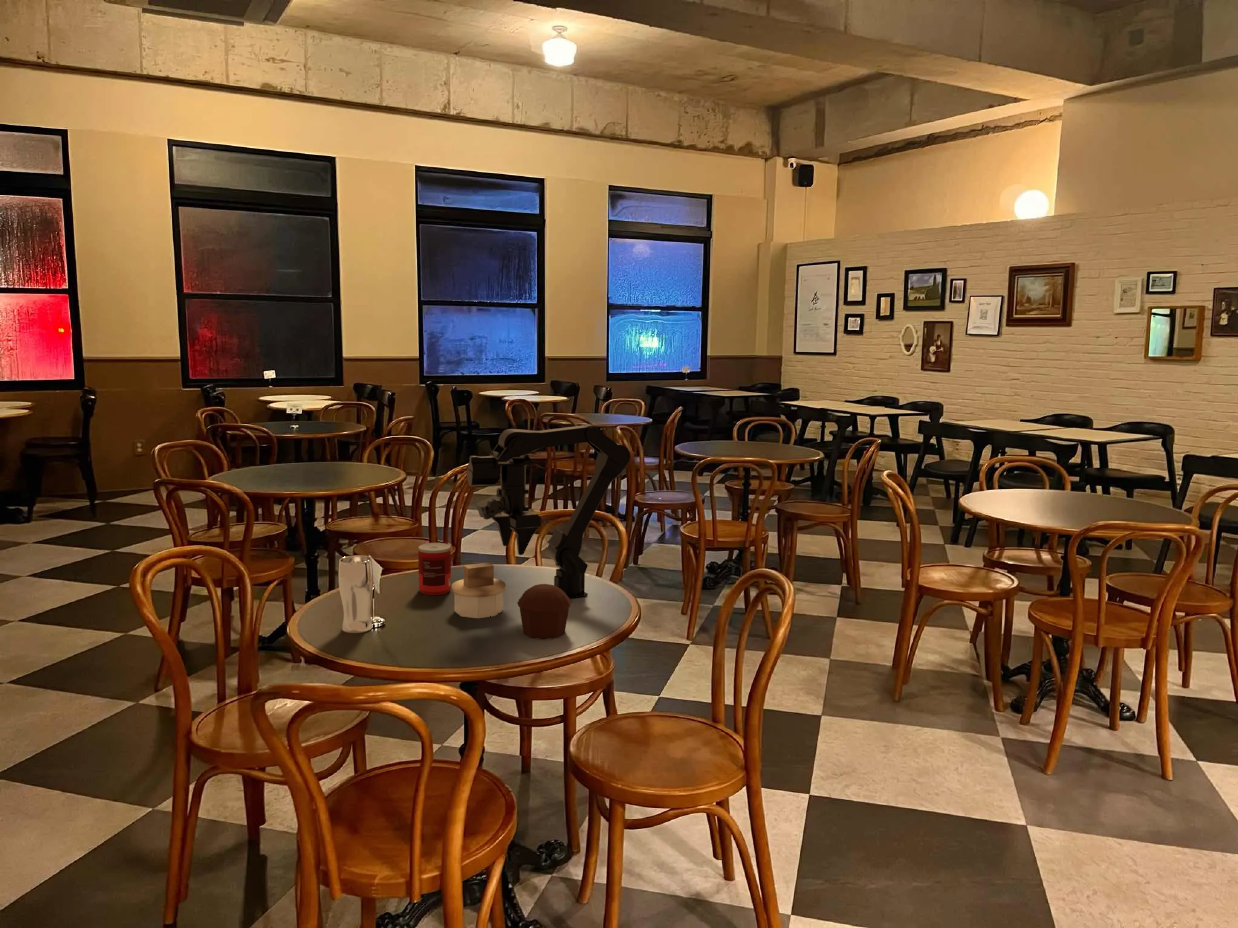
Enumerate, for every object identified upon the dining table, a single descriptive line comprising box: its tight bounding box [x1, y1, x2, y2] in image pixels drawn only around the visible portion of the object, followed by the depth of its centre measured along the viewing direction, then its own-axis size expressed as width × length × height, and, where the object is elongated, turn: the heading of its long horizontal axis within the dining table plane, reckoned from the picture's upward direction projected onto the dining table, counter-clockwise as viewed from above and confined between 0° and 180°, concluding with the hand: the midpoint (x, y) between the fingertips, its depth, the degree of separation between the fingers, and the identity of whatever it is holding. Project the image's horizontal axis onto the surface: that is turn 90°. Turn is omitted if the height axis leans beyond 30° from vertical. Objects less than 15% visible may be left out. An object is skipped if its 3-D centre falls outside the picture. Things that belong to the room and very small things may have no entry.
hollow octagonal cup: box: [453, 592, 504, 619], centre depth 198 cm, size 10×10×5 cm
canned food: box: [417, 542, 452, 596], centre depth 212 cm, size 8×8×11 cm
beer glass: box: [338, 554, 374, 634], centre depth 184 cm, size 7×7×15 cm
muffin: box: [516, 583, 572, 640], centre depth 184 cm, size 12×11×10 cm
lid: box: [451, 561, 506, 597], centre depth 197 cm, size 12×12×6 cm
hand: (513, 550), depth 205 cm, fingers open, 9 cm apart
